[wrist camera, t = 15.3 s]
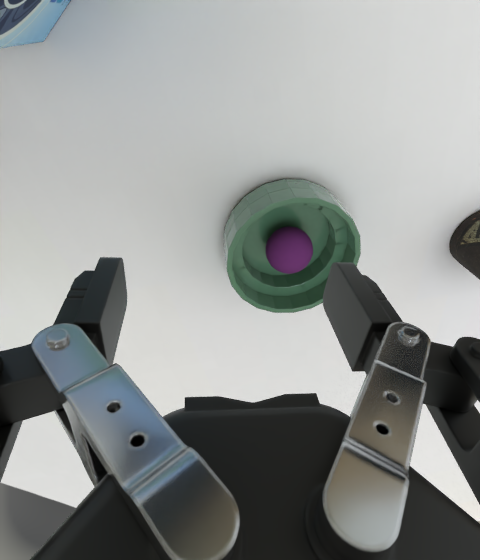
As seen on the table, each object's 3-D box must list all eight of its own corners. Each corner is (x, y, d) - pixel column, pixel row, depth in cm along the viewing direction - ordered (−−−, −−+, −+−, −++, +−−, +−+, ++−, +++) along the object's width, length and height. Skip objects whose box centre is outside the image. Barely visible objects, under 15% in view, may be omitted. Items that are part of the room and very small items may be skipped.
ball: (259, 257, 46) (266, 282, 42) (265, 217, 43) (273, 240, 38) (301, 257, 47) (313, 283, 42) (310, 219, 44) (323, 241, 39)
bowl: (220, 284, 49) (223, 312, 44) (227, 174, 40) (232, 194, 35) (327, 285, 51) (341, 312, 46) (356, 180, 42) (377, 200, 37)
